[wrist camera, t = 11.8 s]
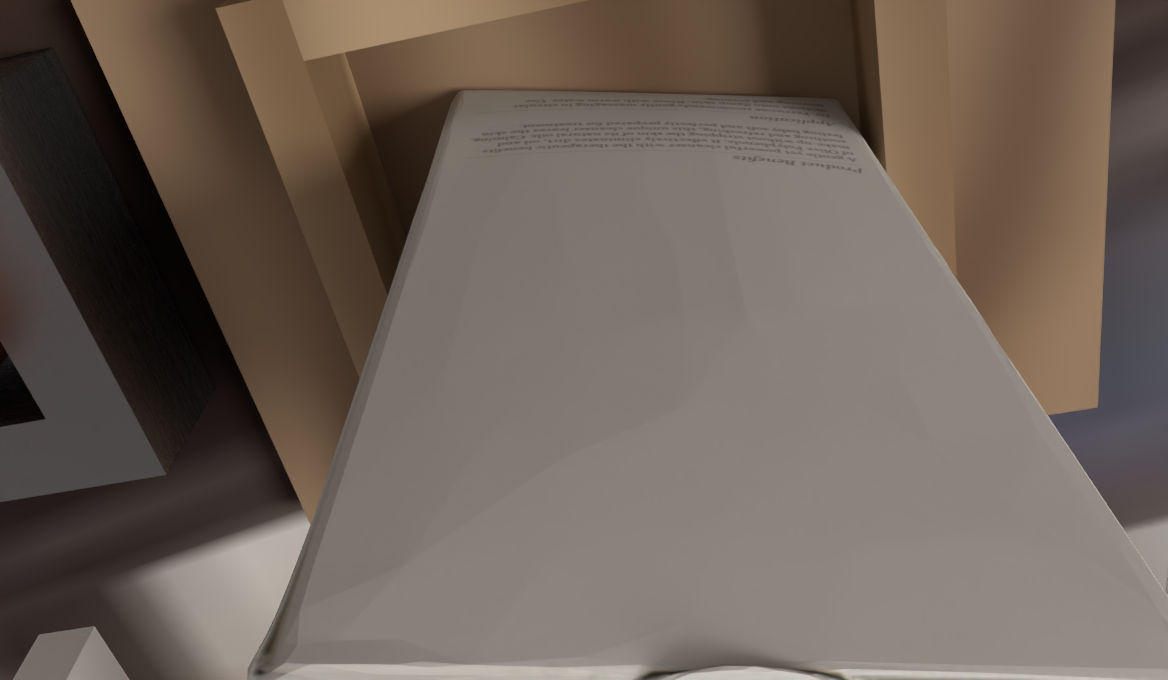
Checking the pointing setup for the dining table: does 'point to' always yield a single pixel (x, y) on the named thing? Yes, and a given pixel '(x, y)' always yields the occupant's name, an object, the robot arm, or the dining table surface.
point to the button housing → (80, 307)
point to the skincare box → (695, 428)
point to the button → (2, 354)
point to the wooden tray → (596, 64)
